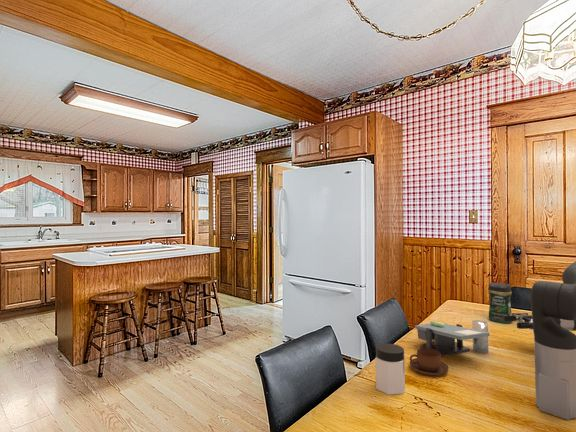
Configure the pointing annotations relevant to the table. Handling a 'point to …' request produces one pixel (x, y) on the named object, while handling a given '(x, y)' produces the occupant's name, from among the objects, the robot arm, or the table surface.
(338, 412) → the table surface
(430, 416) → the table surface
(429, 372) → the cup and saucer
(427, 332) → the pivot stand
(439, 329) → the platform
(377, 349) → the jar
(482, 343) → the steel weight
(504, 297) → the coffee jar
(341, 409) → the table surface
